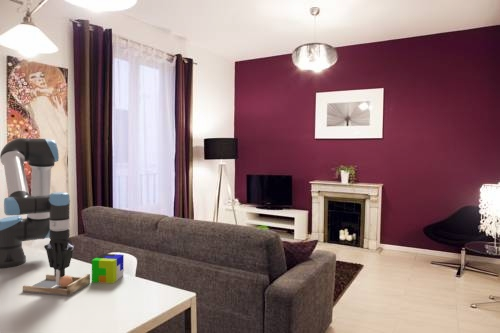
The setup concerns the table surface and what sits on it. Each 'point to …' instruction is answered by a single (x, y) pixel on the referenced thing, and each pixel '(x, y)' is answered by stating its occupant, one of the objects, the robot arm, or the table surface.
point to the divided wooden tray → (70, 289)
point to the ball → (65, 281)
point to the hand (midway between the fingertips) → (59, 283)
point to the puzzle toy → (107, 268)
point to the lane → (51, 284)
